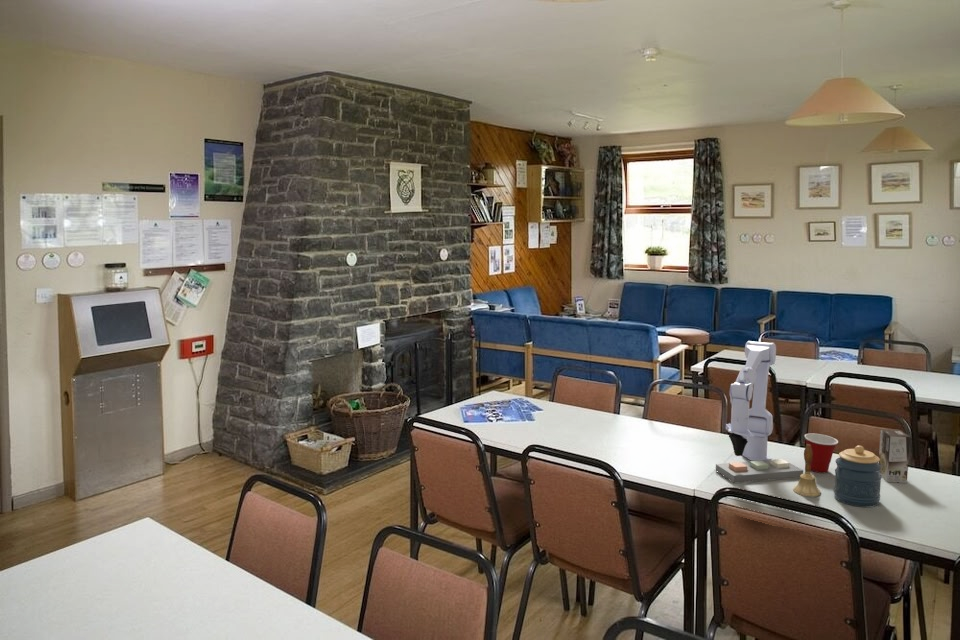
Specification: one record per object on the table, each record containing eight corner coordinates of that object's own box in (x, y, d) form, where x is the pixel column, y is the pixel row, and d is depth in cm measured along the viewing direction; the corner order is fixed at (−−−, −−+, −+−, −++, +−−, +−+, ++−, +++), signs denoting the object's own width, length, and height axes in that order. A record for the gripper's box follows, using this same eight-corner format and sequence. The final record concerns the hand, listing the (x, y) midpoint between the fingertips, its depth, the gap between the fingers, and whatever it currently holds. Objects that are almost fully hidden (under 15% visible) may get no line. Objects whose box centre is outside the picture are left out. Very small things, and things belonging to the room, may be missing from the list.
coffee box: (907, 483, 232) (911, 436, 230) (886, 482, 233) (890, 436, 231) (897, 474, 241) (900, 429, 239) (877, 472, 242) (880, 428, 240)
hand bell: (805, 498, 221) (807, 449, 219) (787, 488, 229) (789, 442, 227) (826, 495, 223) (829, 447, 221) (808, 486, 231) (810, 439, 229)
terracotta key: (728, 469, 243) (728, 463, 242) (740, 468, 243) (740, 462, 243) (735, 473, 238) (735, 467, 238) (747, 472, 239) (747, 466, 239)
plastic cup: (833, 477, 238) (835, 444, 236) (799, 471, 244) (801, 438, 243) (839, 468, 247) (841, 436, 245) (806, 463, 253) (808, 431, 251)
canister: (838, 488, 228) (841, 437, 226) (883, 498, 220) (887, 444, 218) (828, 501, 218) (832, 447, 216) (875, 511, 210) (879, 455, 208)
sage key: (749, 467, 244) (749, 461, 244) (761, 466, 245) (761, 460, 244) (756, 471, 240) (757, 465, 239) (768, 470, 240) (768, 464, 240)
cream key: (770, 465, 245) (770, 459, 245) (781, 464, 246) (781, 458, 246) (777, 470, 241) (777, 463, 241) (789, 469, 242) (789, 463, 242)
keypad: (715, 470, 246) (715, 464, 246) (782, 465, 251) (782, 458, 250) (733, 483, 234) (734, 475, 234) (802, 477, 239) (803, 470, 239)
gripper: (718, 412, 245) (717, 449, 246) (740, 423, 231) (739, 462, 232) (736, 411, 246) (735, 448, 248) (760, 422, 232) (758, 461, 234)
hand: (738, 455), depth 240 cm, fingers closed
